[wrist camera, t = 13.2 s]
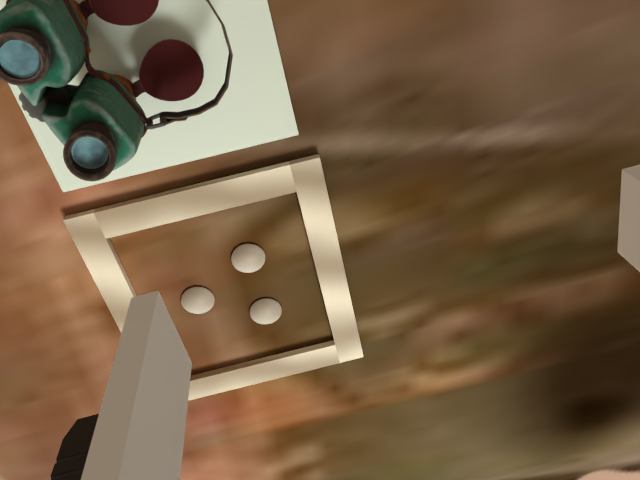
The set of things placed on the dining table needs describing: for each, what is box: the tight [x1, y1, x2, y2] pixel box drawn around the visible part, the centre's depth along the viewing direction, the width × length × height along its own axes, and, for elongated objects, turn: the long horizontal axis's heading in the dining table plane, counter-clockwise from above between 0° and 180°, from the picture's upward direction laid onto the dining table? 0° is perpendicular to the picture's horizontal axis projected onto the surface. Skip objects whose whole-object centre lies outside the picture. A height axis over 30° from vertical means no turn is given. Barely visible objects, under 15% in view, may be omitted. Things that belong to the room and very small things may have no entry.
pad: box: [0, 0, 299, 192], centre depth 31 cm, size 16×15×1 cm
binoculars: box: [0, 0, 233, 181], centre depth 27 cm, size 9×11×10 cm
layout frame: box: [63, 154, 363, 401], centre depth 42 cm, size 18×17×1 cm
